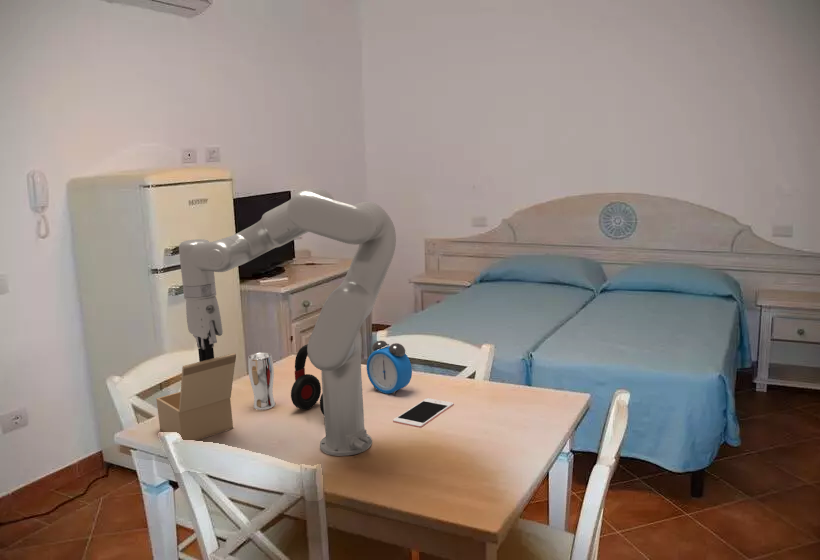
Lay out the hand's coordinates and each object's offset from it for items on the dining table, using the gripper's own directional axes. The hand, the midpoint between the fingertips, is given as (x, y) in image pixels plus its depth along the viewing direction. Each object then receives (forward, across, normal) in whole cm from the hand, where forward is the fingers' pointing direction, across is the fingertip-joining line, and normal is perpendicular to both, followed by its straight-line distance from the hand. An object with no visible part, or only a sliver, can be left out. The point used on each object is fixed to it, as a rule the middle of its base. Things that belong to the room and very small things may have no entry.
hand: (207, 363), depth 172 cm
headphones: (+21, -5, -29) cm, 36 cm away
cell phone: (+21, -26, -48) cm, 59 cm away
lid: (+5, +1, 0) cm, 5 cm away
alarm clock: (+21, -6, -53) cm, 57 cm away
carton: (+21, +11, 0) cm, 23 cm away
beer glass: (+21, +12, -21) cm, 32 cm away
